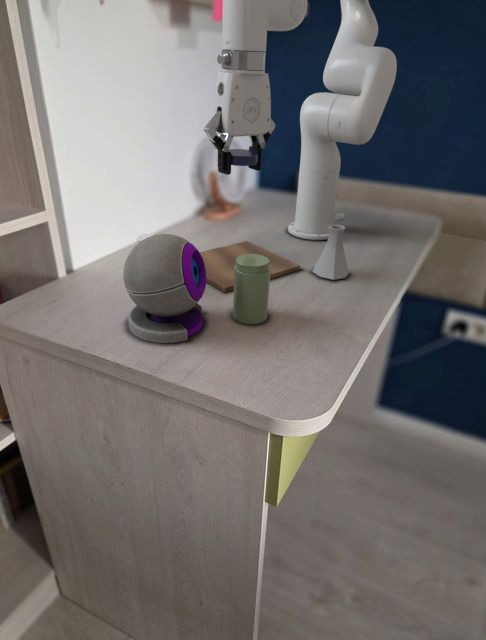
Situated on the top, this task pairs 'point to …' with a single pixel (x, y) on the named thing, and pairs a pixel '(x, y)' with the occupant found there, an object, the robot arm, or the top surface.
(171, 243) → the webcam
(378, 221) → the top surface
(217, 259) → the mat
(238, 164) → the lid
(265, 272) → the jar
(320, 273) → the flask
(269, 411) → the top surface
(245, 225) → the top surface
